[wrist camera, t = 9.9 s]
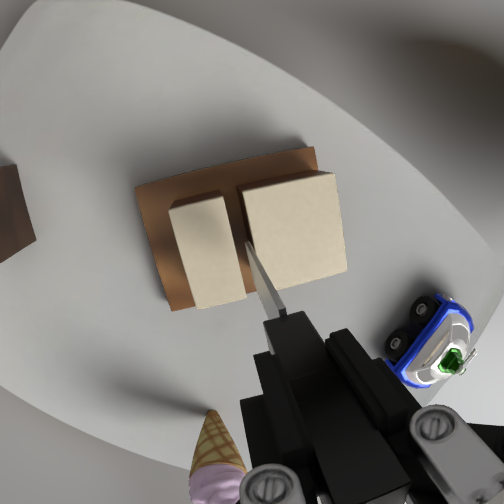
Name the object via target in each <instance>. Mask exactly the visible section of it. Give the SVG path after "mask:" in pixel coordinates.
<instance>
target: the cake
mask: <svg viewBox="0 0 504 504" xmlns="http://www.w3.org/2000/svg"><path fill="white" fill-rule="evenodd" d="M236 189H237V193H238V198H239V202H240V207H241V212H242V216H243V221H244V225H245V230H246V234H247V239H248V241H249V242H250V244H251V246H252V247H253V249H254V251H255V253H256V255H257V257H258V258H259V260H260V262H261V264H262V266H263V267H264V269H265V271H266V273H267V275H268V276H269V278H270V280H271V282H272V284H273V285H274V287H275V289H276V290H280V289H284V288H288V287H291V286H295V285H299V284H302V283H306V282H310V281H313V280H317V279H321V278H324V277H328V276H331V275H335V274H338V273H342V272H345V271H347V262H346V253H345V244H344V236H343V228H342V220H341V213H340V206H339V199H338V192H337V186H336V179H335V173H330V172H324V171H318V170H307V171H302V172H297V173H292V174H287V175H282V176H277V177H273V178H268V179H263V180H259V181H254V182H250V183H245V184H241V185H237V186H236Z"/></svg>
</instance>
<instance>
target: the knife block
mask: <svg viewBox="0 0 504 504" xmlns="http://www.w3.org/2000/svg"><path fill="white" fill-rule="evenodd" d="M35 241H36V237H35V234H34V230H33V227H32V224H31V220H30V217H29V214H28V210H27V206H26V203H25V199H24V195H23V191H22V187H21V183H20V178H19V174H18V169H17V165H9V166H2V167H0V263H2V262H3V261H5V260H6V259H8V258H9V257H11V256H12V255H14V254H16V253H17V252H19V251H20V250H22V249H23V248H25V247H27V246H28V245H30V244H31V243H33V242H35Z"/></svg>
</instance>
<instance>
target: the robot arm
mask: <svg viewBox="0 0 504 504" xmlns="http://www.w3.org/2000/svg"><path fill="white" fill-rule="evenodd" d="M325 346H326V347H327V349H328V350H329V352H330V353H331V355H332V357H333V358H334V360H335V361H336V363H337V364H338V366H339V367H340V369H341V371H342V372H343V374H344V375H345V377H346V378H347V380H348V382H349V383H350V385H351V386H352V388H353V390H354V391H355V393H356V394H357V396H358V397H359V399H360V401H361V402H362V404H363V405H364V407H365V408H366V410H367V412H368V413H369V415H370V416H371V418H372V420H373V421H374V423H375V424H376V426H377V428H379V429H380V430H381V432H382V433H383V435H384V436H385V438H386V440H387V441H388V443H389V444H390V446H391V447H392V449H393V451H394V452H395V454H396V455H397V457H398V459H399V460H400V462H401V463H402V465H403V467H404V468H405V470H406V471H407V473H408V475H409V476H410V478H411V479H412V483H411V486H410V489H409V492H408V495H407V497H406V500H405V502H406V503H407V504H504V426H494V425H483V424H472V423H466V422H465V421H464V420H463V419H462V418H461V417H460V416H459V415H458V414H457V412H455V411H454V410H453V409H452V408H450V407H447V406H445V405H437V404H436V405H429V406H426V407H423V408H422V407H421V406H420V404H419V403H418V402H417V401H416V399H415V398H414V397H413V396H412V394H411V393H410V392H409V391H408V390H407V388H406V387H405V386H404V385H403V383H402V382H401V381H400V380H399V378H398V377H397V376H396V375H395V374H394V372H393V371H392V370H391V369H390V368H389V366H388V365H387V364H386V363H385V361H384V360H382V359H381V358H376V359H373V360H372V359H371V358H370V356H369V355H368V354H367V353H366V351H365V350H364V349H363V348H362V346H361V345H360V344H359V342H358V341H357V340H356V339H355V337H354V336H353V335H352V334H351V332H350V331H349V330H348V329H347V328H345V329H342V330H339V331H336V332H332V333H330V338H328V339H325ZM253 357H254V361H255V364H256V368H257V372H258V375H259V379H260V383H261V387H262V390H263V394H262V395H258V396H254V397H250V398H246V399H242V400H240V406H241V411H242V417H243V422H244V427H245V433H246V438H247V443H248V448H249V453H250V458H251V463H252V468H253V469H252V470H251V471H249V472H248V473H247V474H246V475H245V476H244V477H243V478H242V481H241V483H240V485H239V497H240V499H239V500H238V501H237V502H236V503H235V504H318V502H317V497H318V496H319V495H318V488H317V481H316V474H315V467H314V461H313V454H312V453H313V452H314V448H313V444H312V441H311V438H310V435H309V432H308V430H307V427H306V425H305V422H304V420H303V417H302V414H301V412H300V409H299V407H298V404H297V402H296V399H295V397H294V394H293V392H292V389H291V386H290V384H289V381H288V379H287V376H286V374H285V371H284V368H283V366H282V363H281V361H280V358H279V356H278V353H277V354H273V355H271V353H270V351H267V352H263V353H259V354H255V355H253Z"/></svg>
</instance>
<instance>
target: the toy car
mask: <svg viewBox="0 0 504 504" xmlns="http://www.w3.org/2000/svg"><path fill="white" fill-rule="evenodd" d="M434 297H435V298H436V300H437V301H438V302H439V304H440V305H441V306H439V305H438V304H437V303H436V302H435V301H433V300H432V299H431V298H430V297H428V296H423V297H420V298H419V299H418V300H416V302H415V303H414V304H413V306H412V308H411V312H410V316H411V319H412V321H413V322H415V323H416V324H417V325H419V326H420V327H422V328H423V329H422V331H421V332H420V334H419V335H418V336H417V337H416V338H415V339H414V338H413V337H412V336H410V335H409V334H407V333H406V332H404V331H401V330H399V331H395V332H394V333H392V334H391V335H390V336H389V337H388V339H387V341H386V343H385V353H386V354H387V356H389V357H391V358H393V359H394V360H396V361H398V363H396V362H394V361H391V360H389V359H386V360H385V363H386V364H387V365H388V366H389V368H390V369H391V370H392V371H393V372H394V374H395V375H396V376H397V377H398V378H399V380H400V381H401V382H402V383H403V384H405V385H407V386H410V387H413V388H416V389H421V388H429V387H430V385H431V384H434V383H436V382H439V381H441V380H443V379H445V378H447V377H449V376H450V375H451V374H455V373H457V374H458V375H462V374H463V373H464V372H465V370H466V368H465V367H466V366H467V365H468V364H469V362H470V361H471V360H472V359H473V357H475V355H476V354H477V353H478V351H477V350H476V349H473V351H472V352H471V353H470V355H469V357H468V358H467V359H466V360H465V362H464V361H463V359H464V357H465V356H466V354H467V349H468V345H469V341H470V334H471V333H472V331H473V330H474V324H473V321H472V318H471V315H470V314H469V313H468V311H467V310H466V309H465V308H464V307H462V306H461V305H460V304H458V303H456V302H455V301H454V300H452V299H451V298H450V297H449V296H447V295H446V294H444V293H443V295H441V294H438V293H436V294H435V296H434Z"/></svg>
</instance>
